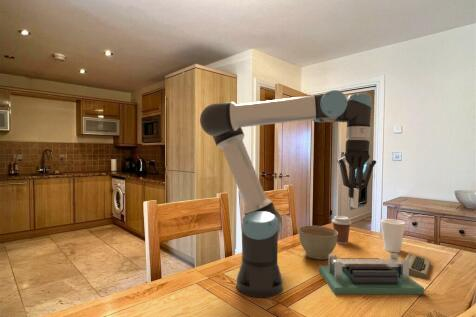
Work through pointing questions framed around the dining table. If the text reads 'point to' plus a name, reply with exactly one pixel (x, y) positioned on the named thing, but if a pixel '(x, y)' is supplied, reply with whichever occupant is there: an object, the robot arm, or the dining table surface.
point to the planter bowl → (318, 241)
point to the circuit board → (350, 288)
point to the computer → (418, 266)
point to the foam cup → (392, 234)
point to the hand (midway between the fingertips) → (354, 207)
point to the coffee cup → (341, 228)
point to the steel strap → (368, 262)
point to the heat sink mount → (370, 272)
